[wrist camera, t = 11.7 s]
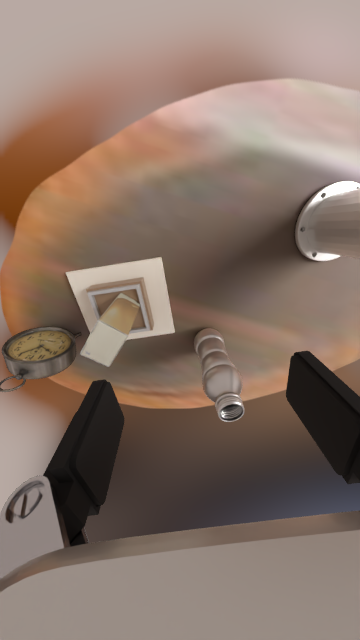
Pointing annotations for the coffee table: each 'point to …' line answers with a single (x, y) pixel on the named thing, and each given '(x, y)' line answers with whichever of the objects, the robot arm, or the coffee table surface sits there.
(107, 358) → the skincare box
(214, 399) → the plastic bottle
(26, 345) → the alarm clock
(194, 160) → the coffee table surface
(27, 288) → the coffee table surface
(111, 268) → the display base
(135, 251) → the coffee table surface
